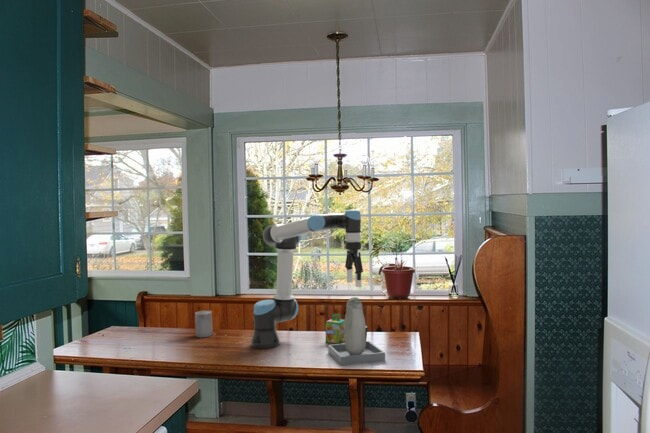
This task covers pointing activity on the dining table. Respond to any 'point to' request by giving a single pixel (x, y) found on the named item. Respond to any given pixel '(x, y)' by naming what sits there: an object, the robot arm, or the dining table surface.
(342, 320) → the chalk box
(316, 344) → the dining table surface
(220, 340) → the dining table surface
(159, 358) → the dining table surface
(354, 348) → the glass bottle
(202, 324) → the pillar candle
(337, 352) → the tray
